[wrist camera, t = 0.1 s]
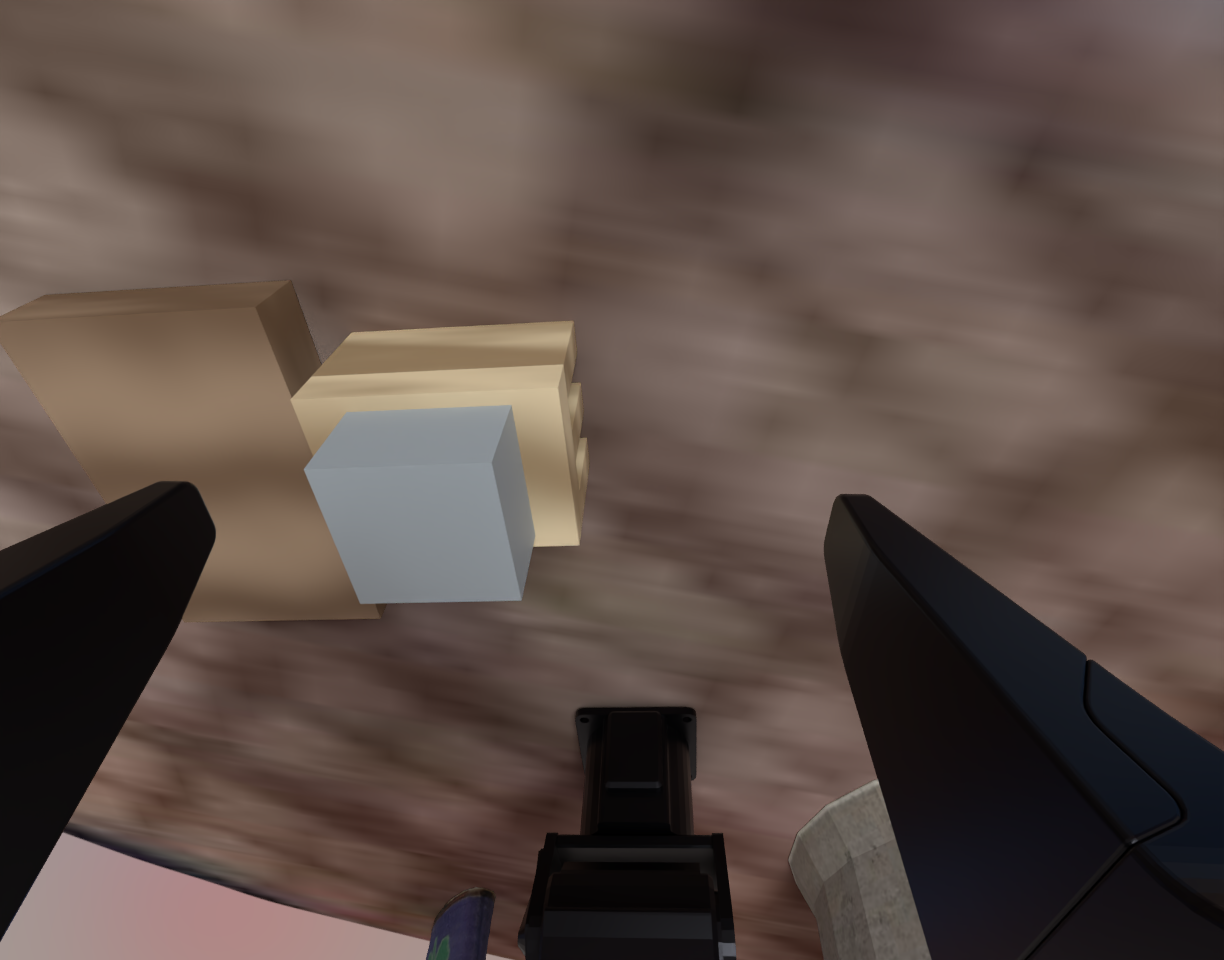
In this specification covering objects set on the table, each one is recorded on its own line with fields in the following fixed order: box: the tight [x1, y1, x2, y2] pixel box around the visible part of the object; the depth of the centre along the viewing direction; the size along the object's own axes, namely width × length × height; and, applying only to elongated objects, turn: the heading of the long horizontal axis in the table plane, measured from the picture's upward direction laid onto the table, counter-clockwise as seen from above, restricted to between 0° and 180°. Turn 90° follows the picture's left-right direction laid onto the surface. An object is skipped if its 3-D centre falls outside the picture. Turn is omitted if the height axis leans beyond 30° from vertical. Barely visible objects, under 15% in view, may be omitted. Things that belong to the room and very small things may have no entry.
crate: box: [304, 405, 535, 604], centre depth 20 cm, size 5×5×3 cm
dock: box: [0, 280, 387, 622], centre depth 26 cm, size 14×9×2 cm, turn 4°
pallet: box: [290, 321, 590, 547], centre depth 23 cm, size 6×8×5 cm
